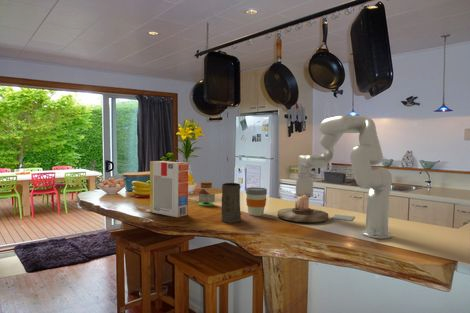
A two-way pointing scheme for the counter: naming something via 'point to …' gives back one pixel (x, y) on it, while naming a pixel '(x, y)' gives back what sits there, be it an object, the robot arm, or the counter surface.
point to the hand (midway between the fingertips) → (304, 206)
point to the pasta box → (169, 188)
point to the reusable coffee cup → (256, 200)
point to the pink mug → (303, 203)
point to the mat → (343, 217)
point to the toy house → (206, 195)
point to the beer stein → (231, 203)
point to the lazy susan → (302, 215)
